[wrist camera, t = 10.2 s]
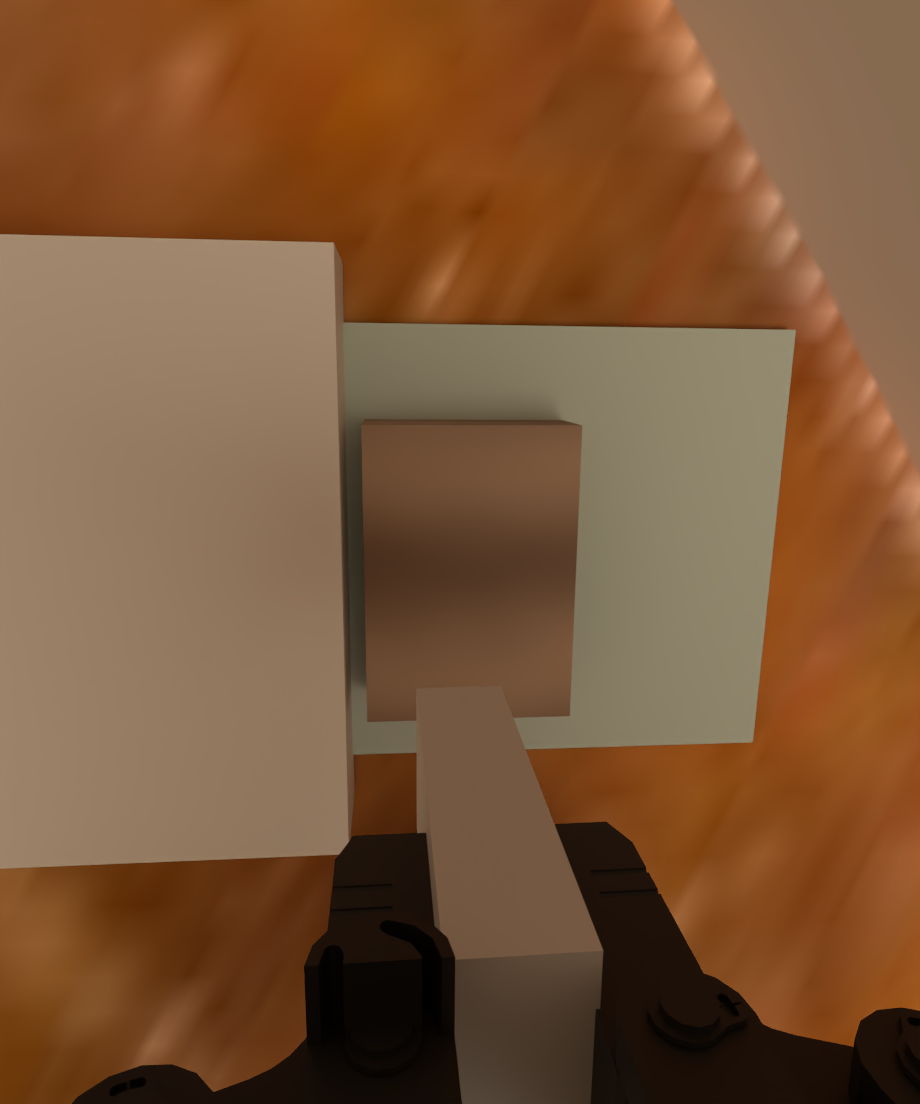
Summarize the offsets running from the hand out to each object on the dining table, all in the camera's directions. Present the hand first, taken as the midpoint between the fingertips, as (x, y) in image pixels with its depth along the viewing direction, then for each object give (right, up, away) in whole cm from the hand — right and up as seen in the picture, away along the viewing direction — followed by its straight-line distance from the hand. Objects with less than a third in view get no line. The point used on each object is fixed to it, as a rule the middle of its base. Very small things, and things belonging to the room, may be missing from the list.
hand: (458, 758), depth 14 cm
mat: (+4, +4, +15) cm, 16 cm away
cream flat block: (-13, +4, +14) cm, 19 cm away
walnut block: (0, +3, +14) cm, 15 cm away
